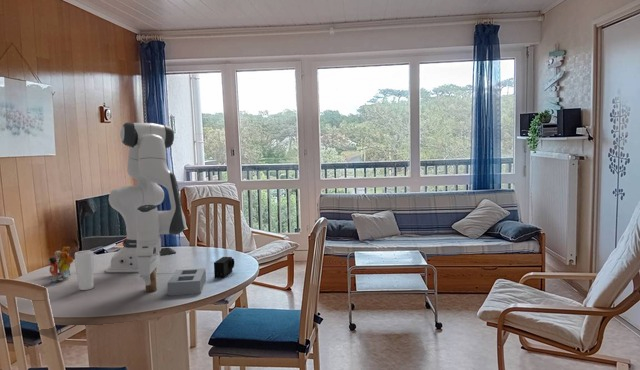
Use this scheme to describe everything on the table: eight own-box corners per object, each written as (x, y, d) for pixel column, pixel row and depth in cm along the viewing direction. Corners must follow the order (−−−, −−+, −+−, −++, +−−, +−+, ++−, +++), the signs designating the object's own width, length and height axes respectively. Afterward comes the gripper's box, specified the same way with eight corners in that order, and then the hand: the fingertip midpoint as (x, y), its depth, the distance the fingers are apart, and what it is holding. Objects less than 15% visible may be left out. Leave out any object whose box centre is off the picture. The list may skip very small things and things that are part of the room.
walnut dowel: (144, 292, 174) (143, 272, 174) (147, 289, 178) (146, 269, 178) (155, 291, 175) (154, 271, 174) (157, 288, 179) (156, 268, 178)
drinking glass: (83, 292, 176) (80, 254, 175) (73, 289, 180) (70, 253, 178) (99, 287, 182) (96, 251, 181) (89, 285, 185) (87, 249, 184)
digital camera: (226, 278, 190) (225, 262, 190) (214, 278, 191) (213, 262, 191) (235, 271, 201) (234, 256, 200) (223, 271, 202) (223, 256, 201)
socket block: (168, 295, 170) (167, 282, 169) (176, 281, 188) (176, 269, 187) (200, 293, 171) (199, 280, 171) (205, 279, 189) (205, 268, 189)
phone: (168, 247, 251) (176, 252, 238) (168, 249, 251) (176, 254, 239) (154, 249, 246) (161, 254, 234) (154, 251, 247) (161, 256, 234)
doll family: (57, 272, 206) (55, 244, 205) (80, 270, 209) (78, 242, 208) (48, 285, 186) (46, 254, 185) (74, 282, 190) (72, 252, 189)
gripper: (147, 241, 185) (148, 274, 186) (133, 253, 165) (135, 289, 166) (162, 240, 186) (164, 273, 187) (151, 252, 166) (153, 288, 167)
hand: (151, 281), depth 176 cm, fingers open, 8 cm apart
